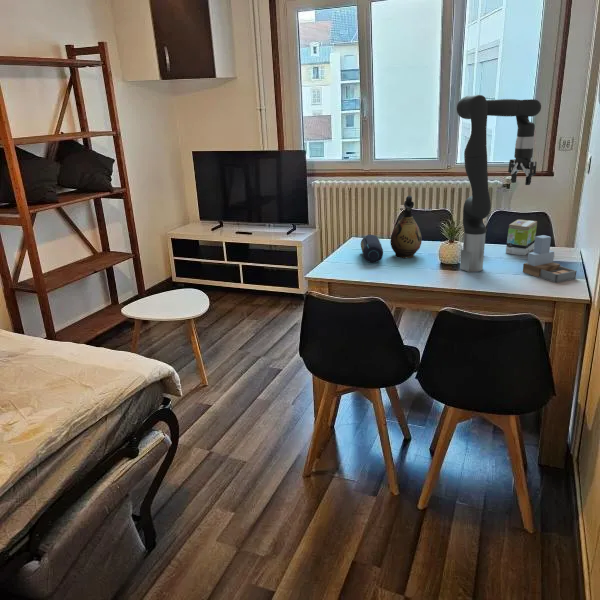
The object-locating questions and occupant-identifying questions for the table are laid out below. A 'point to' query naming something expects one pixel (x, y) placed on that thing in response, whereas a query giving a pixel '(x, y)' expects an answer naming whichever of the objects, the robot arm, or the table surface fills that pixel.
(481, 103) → the robot arm
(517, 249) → the tea box
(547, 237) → the scraper block
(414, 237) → the ceramic jug
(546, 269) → the flat wooden box
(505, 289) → the table surface
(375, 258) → the portable speaker
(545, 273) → the tray
